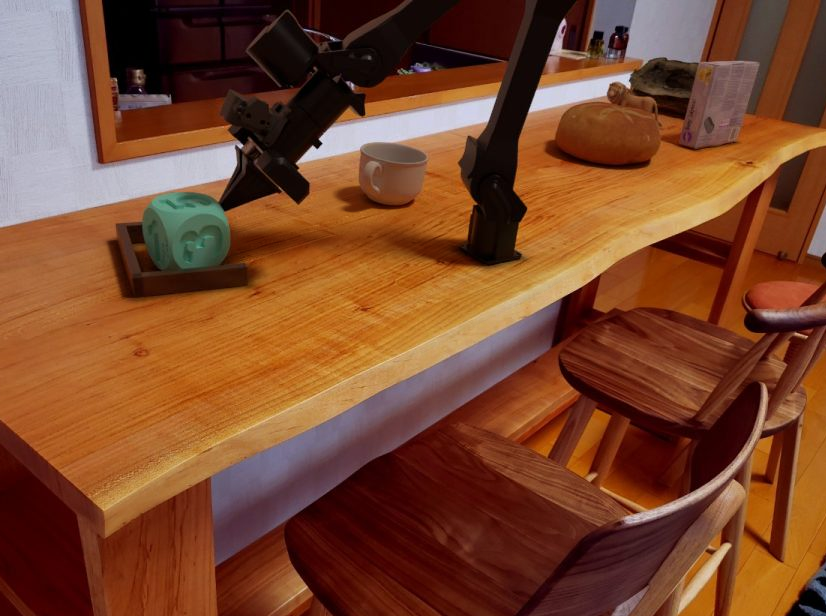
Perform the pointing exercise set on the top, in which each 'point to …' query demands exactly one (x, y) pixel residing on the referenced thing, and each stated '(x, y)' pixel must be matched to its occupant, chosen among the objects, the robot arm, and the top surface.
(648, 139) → the bread
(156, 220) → the decorative dice
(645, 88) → the hollow geode rock
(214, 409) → the top surface
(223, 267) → the walnut frame
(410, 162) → the teacup
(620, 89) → the lion figurine
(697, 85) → the cake pan box
